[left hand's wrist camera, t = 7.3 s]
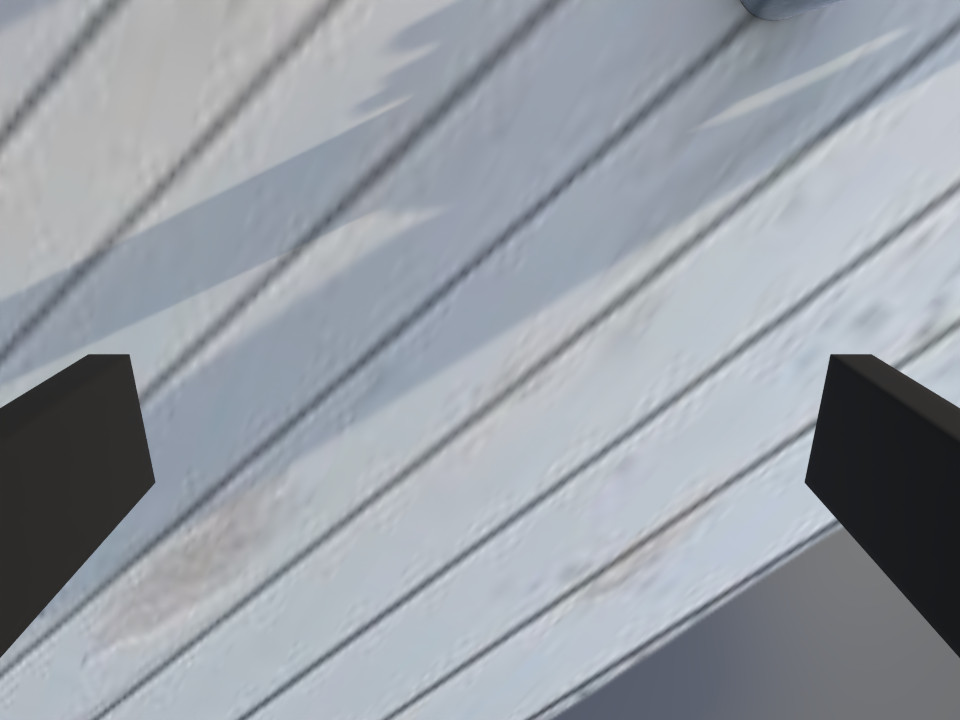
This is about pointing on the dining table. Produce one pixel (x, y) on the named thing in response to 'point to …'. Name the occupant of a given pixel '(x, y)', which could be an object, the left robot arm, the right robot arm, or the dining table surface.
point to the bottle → (783, 7)
